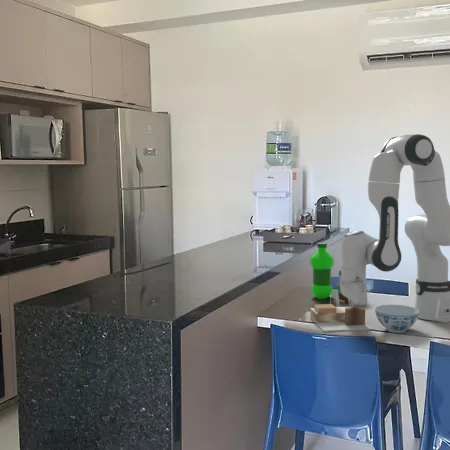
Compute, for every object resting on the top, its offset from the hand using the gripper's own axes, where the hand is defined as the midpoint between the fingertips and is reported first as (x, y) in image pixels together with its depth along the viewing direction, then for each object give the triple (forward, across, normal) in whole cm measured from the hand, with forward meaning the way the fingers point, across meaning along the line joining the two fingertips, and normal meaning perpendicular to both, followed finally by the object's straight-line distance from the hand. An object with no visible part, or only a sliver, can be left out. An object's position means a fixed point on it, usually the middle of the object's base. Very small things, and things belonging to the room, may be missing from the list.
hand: (353, 311), depth 203 cm
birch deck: (+5, +6, +4) cm, 9 cm away
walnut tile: (+1, -2, 0) cm, 3 cm away
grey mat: (+5, -3, +4) cm, 7 cm away
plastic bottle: (+5, +44, 0) cm, 44 cm away
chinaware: (+5, -10, -13) cm, 17 cm away
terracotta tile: (0, +6, +9) cm, 11 cm away
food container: (+5, +32, -10) cm, 34 cm away
